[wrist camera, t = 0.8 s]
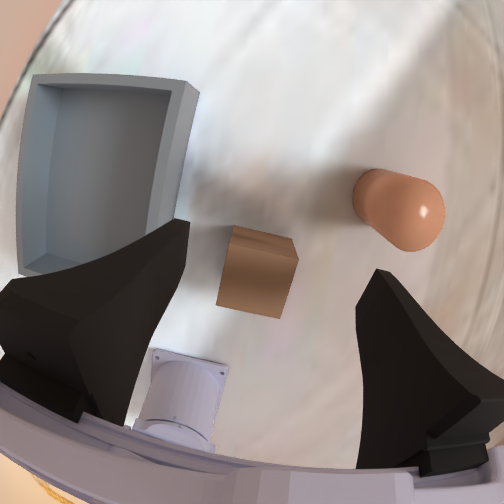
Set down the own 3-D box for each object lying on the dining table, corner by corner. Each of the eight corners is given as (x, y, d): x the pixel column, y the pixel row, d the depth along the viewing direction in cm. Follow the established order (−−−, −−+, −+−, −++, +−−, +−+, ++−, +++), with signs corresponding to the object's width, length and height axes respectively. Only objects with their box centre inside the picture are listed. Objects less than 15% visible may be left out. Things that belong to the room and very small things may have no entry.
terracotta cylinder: (394, 231, 26) (431, 258, 20) (345, 217, 26) (373, 242, 19) (410, 178, 25) (453, 192, 18) (361, 161, 24) (395, 168, 18)
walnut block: (276, 290, 28) (280, 318, 24) (222, 278, 28) (215, 305, 23) (291, 238, 27) (298, 259, 22) (234, 225, 27) (229, 243, 22)
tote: (163, 287, 28) (147, 315, 24) (46, 254, 28) (18, 273, 23) (199, 92, 23) (186, 81, 18) (64, 81, 22) (32, 74, 17)
